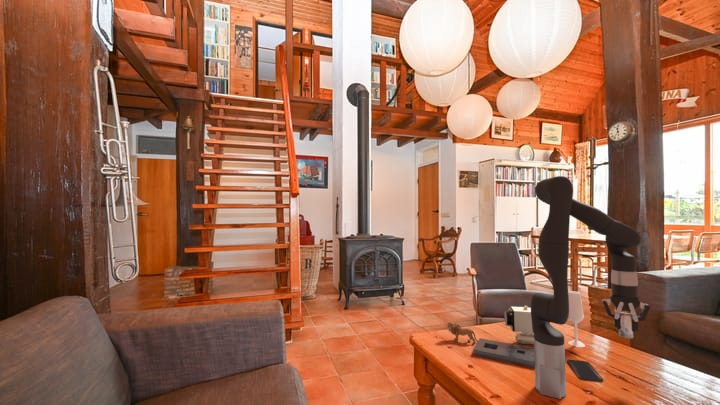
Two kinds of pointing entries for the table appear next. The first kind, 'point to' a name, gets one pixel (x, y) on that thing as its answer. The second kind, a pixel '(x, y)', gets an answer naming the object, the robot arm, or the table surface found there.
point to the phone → (584, 370)
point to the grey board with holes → (505, 352)
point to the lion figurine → (460, 331)
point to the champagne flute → (575, 314)
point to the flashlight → (626, 325)
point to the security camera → (520, 323)
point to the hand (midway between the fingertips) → (625, 329)
